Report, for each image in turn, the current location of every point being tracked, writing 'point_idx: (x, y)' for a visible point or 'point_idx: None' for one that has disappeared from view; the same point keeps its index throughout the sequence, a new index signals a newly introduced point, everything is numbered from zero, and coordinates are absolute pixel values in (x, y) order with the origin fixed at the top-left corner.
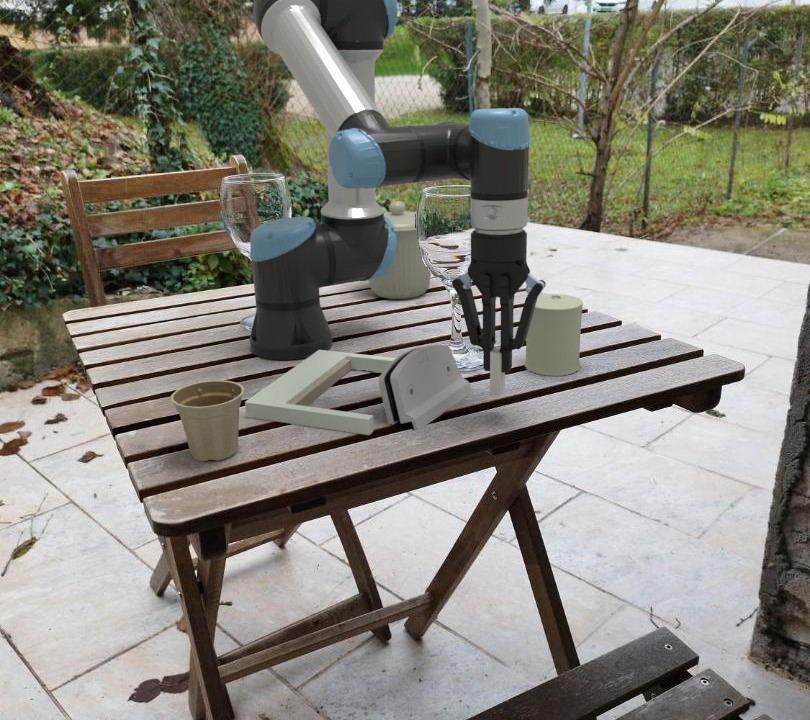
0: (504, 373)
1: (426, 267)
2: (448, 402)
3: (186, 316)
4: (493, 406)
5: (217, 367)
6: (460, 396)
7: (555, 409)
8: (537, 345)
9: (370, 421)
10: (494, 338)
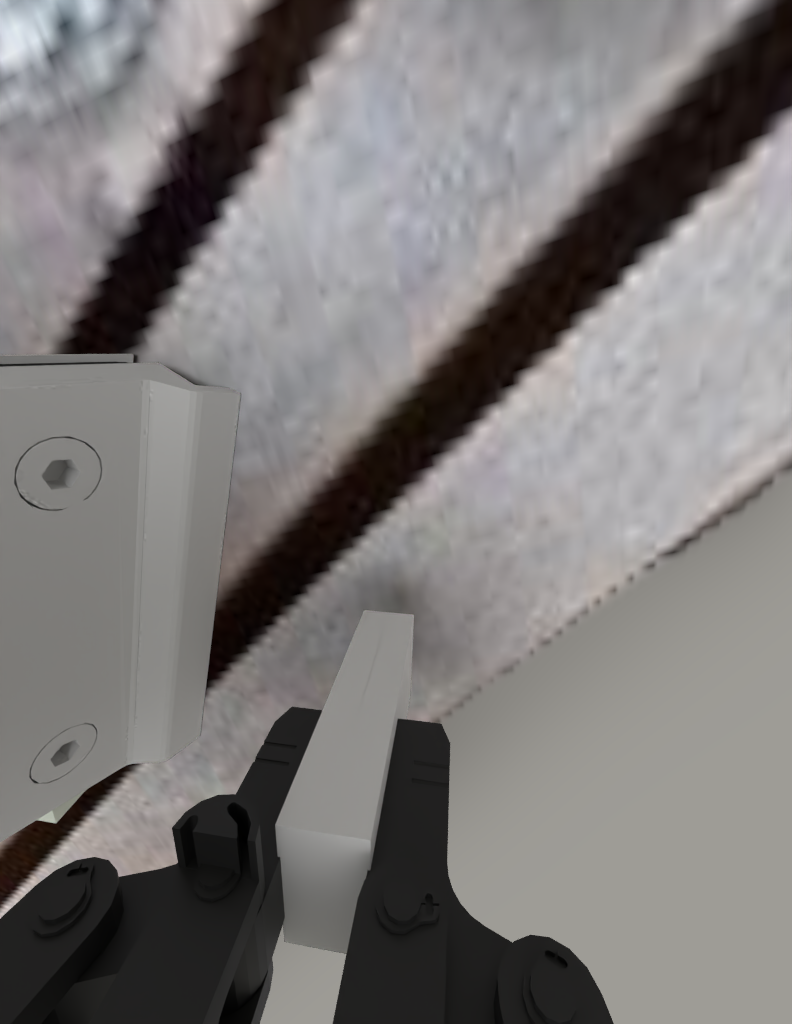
0: (403, 683)
1: None
2: (200, 574)
3: None
4: (367, 514)
5: None
6: (216, 489)
7: (635, 481)
8: None
9: (63, 803)
10: (237, 965)
